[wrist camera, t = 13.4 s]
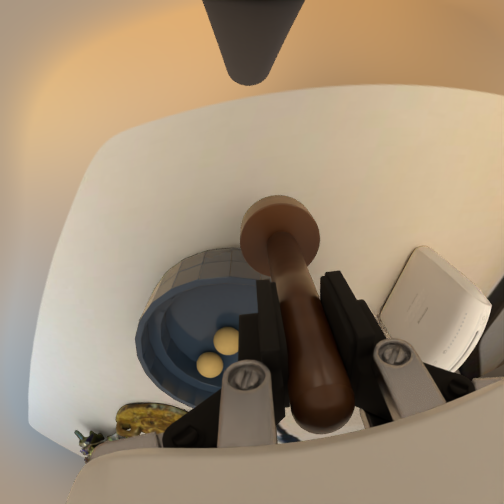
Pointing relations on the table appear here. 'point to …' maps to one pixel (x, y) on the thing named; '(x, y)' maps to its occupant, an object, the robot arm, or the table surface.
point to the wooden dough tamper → (299, 311)
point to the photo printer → (436, 310)
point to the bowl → (194, 320)
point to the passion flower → (92, 442)
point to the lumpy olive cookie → (146, 418)
